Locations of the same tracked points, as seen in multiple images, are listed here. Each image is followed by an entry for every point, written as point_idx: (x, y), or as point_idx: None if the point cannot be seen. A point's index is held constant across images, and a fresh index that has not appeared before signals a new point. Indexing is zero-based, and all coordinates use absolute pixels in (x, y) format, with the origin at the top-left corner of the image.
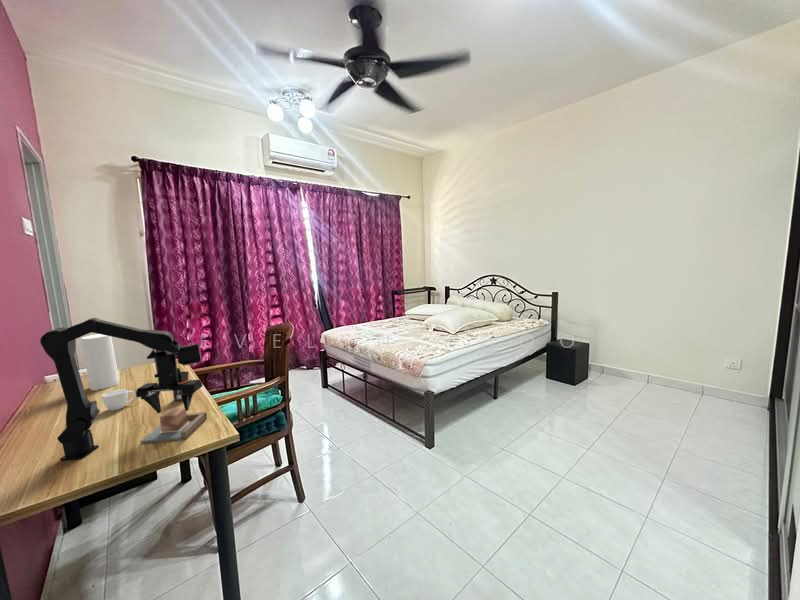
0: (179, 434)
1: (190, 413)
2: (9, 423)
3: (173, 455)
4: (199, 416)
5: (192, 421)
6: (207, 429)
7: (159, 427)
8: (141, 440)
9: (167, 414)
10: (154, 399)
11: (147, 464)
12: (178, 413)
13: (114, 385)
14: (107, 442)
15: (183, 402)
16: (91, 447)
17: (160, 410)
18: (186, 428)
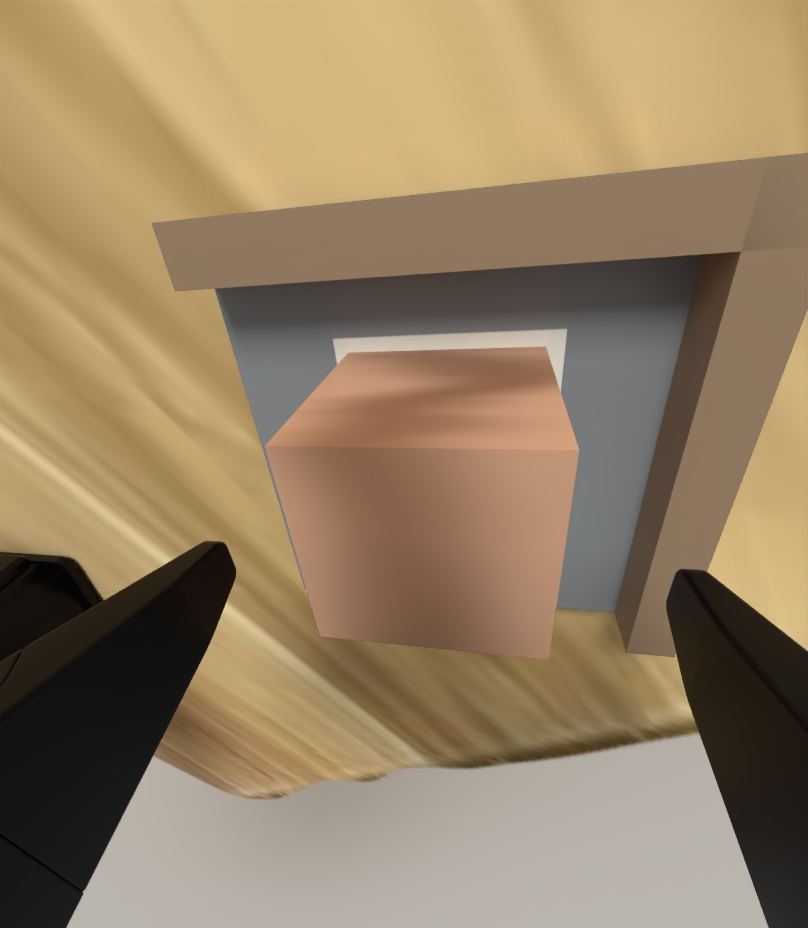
0: (574, 568)
1: (530, 189)
2: None
3: (637, 725)
4: (751, 339)
5: (679, 476)
6: None
7: (273, 413)
8: (304, 584)
9: (388, 611)
10: (19, 884)
11: (523, 746)
12: (549, 621)
13: None
14: (59, 517)
15: (772, 914)
16: (65, 600)
17: (210, 562)
18: (661, 605)
